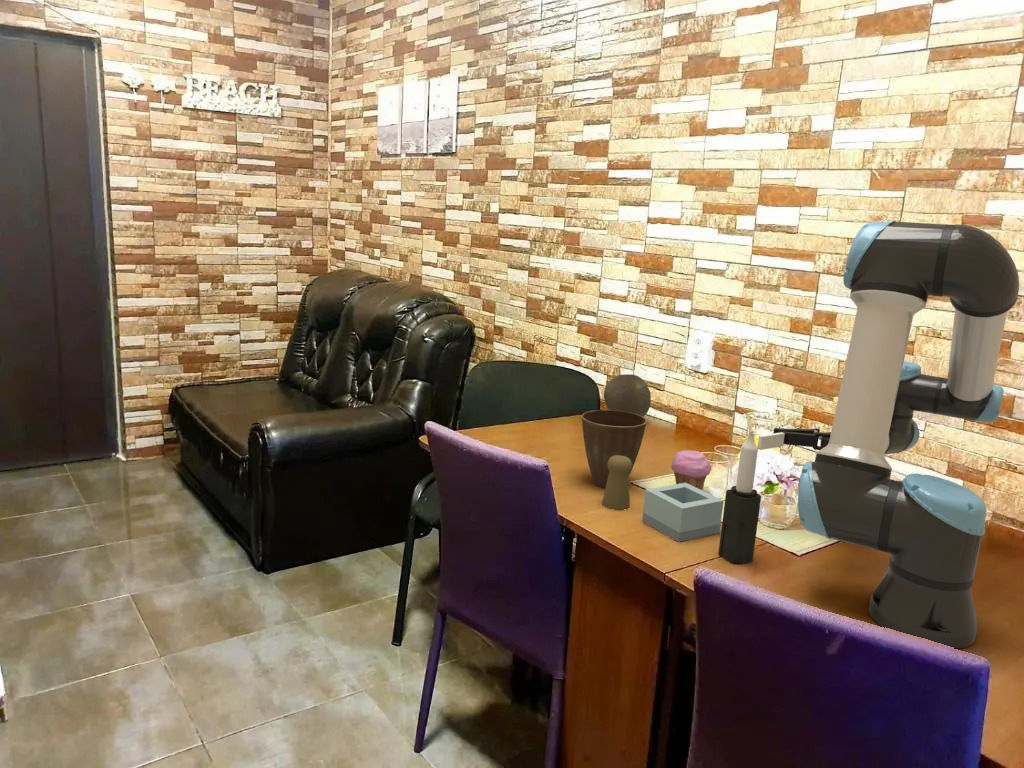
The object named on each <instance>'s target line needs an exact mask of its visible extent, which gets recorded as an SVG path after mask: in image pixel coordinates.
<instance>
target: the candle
mask: <svg viewBox="0 0 1024 768" xmlns="http://www.w3.org/2000/svg"><path fill="white" fill-rule="evenodd" d="M754 434H755V430H754V429H751V428H750V429H749V434H748V435H747V438H746V440H745V442H743V444H742V445H741V447H740V452H739V462H738V469H737V478H736V484H735V485H733V486H731V487H730V489H727V490H725V498H724V503H723V511H722V519H721V527H720V537H719V543H718V544H719V547H718V552H717V553H718V554H717V555H718V556H719V557H722V558H723V559H725V561H727V562H729V563H730V564H733V565H742V564H748V563H752V562H753V560H754V555H755V553H754V552H755V548H756V547H755V545H756V538H757V531H758V523H759V516H760V510H761V502H762V495H761V494H759V493H758V491H757V490H756V489H754V484H755V483H754V482H755V475H756V468H757V459H758V452H759V449H758V444H757V443H756V442H755V441H756V440H755V435H754Z"/></svg>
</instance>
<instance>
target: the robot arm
mask: <svg viewBox="0 0 1024 768" xmlns="http://www.w3.org/2000/svg"><path fill="white" fill-rule="evenodd" d="M842 279H843V286H844V287H845V288H846V289H848V290H850V295H849V299H850V300H851V301H852V302H853V304H854V305H855V306H856V313H855V317H854V322H853V327H852V332H851V338H850V340H849V341H850V342H849V346H848V350H847V356H846V360H845V364H844V370H843V372H842V373H843V375H842V379H841V384H840V389H839V392H838V397H837V403H836V407H835V412H834V416H833V421H832V425H831V431H827V432H822V431H821V432H820V429H819V428H816V427H815V428H809V429H808V428H786V427H785V428H784V427H783V428H778V427H774V428H773V432H772V433H769V434H768V433H767V434H763V435H758V442H757V447H758V451H759V450H760V451H762V450H769V449H773V448H774V449H775V448H781V447H784V445H786V446H797V447H807V448H813V450H814V451H817V452H816V455H815V460H814V461H811V460H810V461H806V462H805V463H804V464H803V466H802V468H801V474H800V476H799V481H798V489H797V491H798V492H797V512H798V517H799V521H800V524H801V526H802V527H803V528H804V529H805V530H806V531H807V532H809V533H811V534H816V535H820V536H823V537H825V538H826V539H828V540H831V539H833V540H836V541H840V542H843V543H848V544H852V545H857V546H859V547H863V548H868V549H871V550H874V551H879V552H882V553H887V554H889V555H890V556H889V562H888V568H887V569H886V571H885V573H884V575H883V576H882V577H881V580H880V581H879V582H878V584H877V586H876V588H875V589H874V590H873V592H872V594H871V596H870V601H869V606H868V613H869V616H870V617H871V619H872V620H874V622H875V623H876V624H877V625H879V626H880V627H881V626H883V627H886V628H890V629H893V630H896V631H899V632H903V633H906V634H910V635H913V636H917V637H921V638H925V639H928V640H931V641H934V642H937V643H941V644H944V645H947V646H950V647H954V648H957V649H956V650H958V649H964V648H967V647H969V646H971V645H972V644H974V643H975V641H976V637H977V636H976V635H977V632H978V621H977V614H976V609H975V603H974V597H973V591H972V588H973V583H974V579H975V574H976V570H977V564H978V560H979V559H978V558H979V553H980V548H981V544H982V543H981V542H982V537H983V536H984V535H985V533H986V525H985V524H986V518H987V506H986V503H985V501H983V499H982V498H981V497H980V496H979V495H978V494H977V493H975V492H974V491H972V490H971V489H969V488H967V487H965V486H963V485H961V484H958V483H956V482H953V481H951V480H948V479H944V478H942V477H938V476H933V475H931V474H922V473H921V474H920V473H910V474H906V476H905V477H904V478H903V479H902V481H899V480H895V479H891V475H892V470H893V467H892V466H891V464H890V463H889V461H887V458H886V457H885V455H889V454H899V453H902V452H904V451H908V450H910V449H912V448H913V447H914V446H915V445H916V444H917V443H918V442H919V439H920V429H919V426H918V424H917V422H916V421H915V420H914V419H913V417H914V411H915V412H920V413H925V414H931V415H939V416H944V417H949V418H950V417H951V418H955V419H962V420H967V421H971V422H981V423H982V422H983V423H989V424H990V423H992V424H993V423H995V422H996V421H998V419H999V415H1000V411H1001V407H1002V401H1003V396H1004V388H1003V386H1001V385H996V384H994V382H995V377H996V373H997V372H996V371H997V366H998V360H999V355H1000V350H1001V347H1002V340H1003V334H1004V331H1005V330H1004V329H1005V324H1006V318H1007V315H1008V312H1010V310H1012V309H1013V308H1014V306H1015V305H1016V303H1017V301H1018V296H1019V291H1020V276H1019V272H1018V269H1017V267H1016V263H1015V261H1014V260H1013V258H1012V256H1011V254H1010V253H1009V251H1008V250H1007V249H1006V248H1005V246H1004V245H1003V244H1002V243H1001V242H1000V241H999V240H998V239H996V238H995V237H994V236H993V235H991V234H990V233H988V232H986V231H985V230H983V229H981V228H978V227H976V226H972V225H969V224H960V223H959V224H956V223H955V224H945V223H928V222H927V223H926V222H925V223H924V222H909V221H907V222H906V221H896V220H890V221H871V222H867V223H866V224H864V225H863V226H862V227H860V230H858V232H857V233H856V235H855V237H854V239H853V241H852V243H851V245H850V249H849V251H848V254H847V258H846V261H845V269H844V272H843V278H842ZM929 297H940V298H941V297H942V298H943V297H944V298H945V297H946V298H949V302H950V304H951V306H952V307H953V309H954V314H953V315H954V317H953V325H952V334H951V342H950V343H951V344H950V352H949V361H948V370H947V377H941V376H935V375H929V374H923V373H922V367H921V365H920V364H918V363H915V362H910V361H906V360H905V357H906V352H907V348H908V343H909V337H910V333H911V330H912V329H911V328H912V326H913V325H912V324H913V320H914V316H915V315H916V314H917V313H919V312H921V311H922V310H923V309H926V306H927V302H928V298H929ZM819 440H820V443H819ZM818 444H819V445H818ZM883 627H882V628H883Z"/></svg>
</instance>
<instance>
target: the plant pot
mask: <svg viewBox="0 0 1024 768" xmlns="http://www.w3.org/2000/svg"><path fill="white" fill-rule="evenodd" d="M647 422H648V421H647V418H645V416H644V417H642V416H640V415H637V414H634V413H630V412H624V411H616V410H609V409H597V410H589V411H586V412H584V413H582V415H581V424H582V426H581V427H582V435H583V443H584V448H585V454H586V459H587V463H588V468H589V471H590V474H591V479H592V480H593V483H594V485H596V486H599V487H601V488H606V484H607V480H608V475H609V469H608V465H607V464H608V460H609V458H610V457H612V456H615V455H620V456H625V457H628V458H629V459H630V460H631V462H632V468H631V470H630V472H629V476H630V475H631V473H632V470H633V468H634V465H635V462H637V461H636V460H637V457H638V455H639V452H640V448H641V447H642V446H641V445H642V441H643V438H644V434H645V431H646V426H647Z"/></svg>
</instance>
